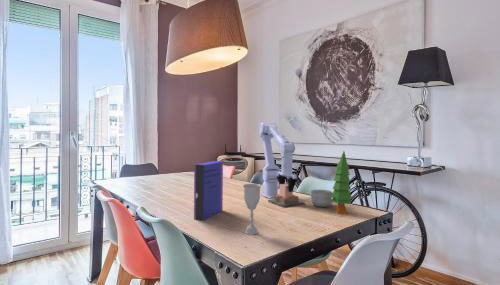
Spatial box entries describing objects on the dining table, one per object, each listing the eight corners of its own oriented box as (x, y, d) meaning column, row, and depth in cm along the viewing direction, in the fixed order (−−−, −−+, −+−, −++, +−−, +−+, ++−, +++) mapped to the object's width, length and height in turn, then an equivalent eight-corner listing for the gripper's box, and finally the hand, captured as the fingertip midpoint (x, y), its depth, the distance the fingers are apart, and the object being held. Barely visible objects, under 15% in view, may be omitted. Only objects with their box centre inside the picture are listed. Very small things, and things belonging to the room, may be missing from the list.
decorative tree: (353, 211, 146) (354, 150, 144) (348, 216, 138) (349, 151, 137) (333, 208, 151) (334, 149, 150) (327, 213, 143) (328, 150, 142)
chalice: (250, 227, 120) (251, 183, 119) (264, 231, 115) (265, 185, 115) (238, 232, 114) (239, 185, 113) (252, 236, 110) (253, 187, 109)
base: (268, 201, 164) (268, 194, 164) (288, 199, 171) (288, 192, 171) (283, 207, 152) (283, 199, 152) (304, 204, 159) (305, 196, 159)
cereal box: (213, 209, 147) (214, 160, 146) (222, 210, 145) (222, 161, 144) (194, 218, 131) (194, 164, 130) (203, 220, 129) (203, 164, 128)
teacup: (308, 206, 155) (308, 191, 155) (313, 202, 165) (314, 187, 164) (335, 210, 148) (335, 194, 148) (339, 205, 158) (340, 190, 158)
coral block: (279, 195, 162) (279, 184, 162) (286, 194, 165) (286, 183, 164) (285, 197, 158) (285, 185, 158) (292, 196, 160) (292, 185, 160)
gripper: (273, 164, 165) (272, 188, 165) (289, 167, 152) (288, 193, 153) (283, 163, 169) (283, 187, 169) (300, 166, 156) (299, 192, 157)
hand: (286, 190), depth 161 cm, fingers open, 7 cm apart
